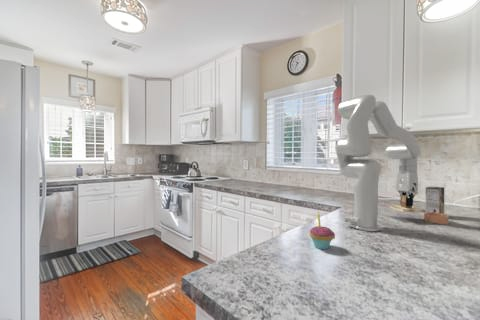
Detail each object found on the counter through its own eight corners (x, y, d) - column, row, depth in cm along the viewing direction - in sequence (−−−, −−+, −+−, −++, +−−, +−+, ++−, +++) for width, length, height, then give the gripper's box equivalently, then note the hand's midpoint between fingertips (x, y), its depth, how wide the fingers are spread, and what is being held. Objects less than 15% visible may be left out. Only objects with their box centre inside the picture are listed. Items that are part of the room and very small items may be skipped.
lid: (402, 211, 111) (403, 196, 111) (388, 207, 122) (389, 193, 122) (425, 212, 111) (426, 198, 111) (409, 208, 122) (409, 194, 122)
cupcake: (304, 244, 83) (304, 211, 83) (322, 241, 86) (322, 209, 86) (321, 253, 75) (321, 217, 75) (340, 249, 78) (340, 214, 78)
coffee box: (430, 213, 132) (430, 186, 132) (444, 215, 126) (444, 187, 126) (425, 215, 126) (425, 187, 126) (439, 218, 121) (440, 188, 121)
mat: (404, 223, 111) (404, 222, 111) (388, 217, 123) (388, 216, 123) (428, 223, 111) (428, 222, 111) (411, 217, 123) (411, 216, 123)
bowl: (434, 224, 109) (434, 216, 109) (420, 219, 118) (420, 211, 118) (453, 224, 109) (453, 216, 109) (437, 219, 118) (437, 212, 118)
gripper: (390, 168, 125) (389, 201, 125) (412, 169, 109) (410, 207, 108) (404, 169, 125) (402, 202, 124) (428, 170, 108) (426, 208, 108)
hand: (406, 204), depth 116 cm, fingers closed on lid, 3 cm apart
